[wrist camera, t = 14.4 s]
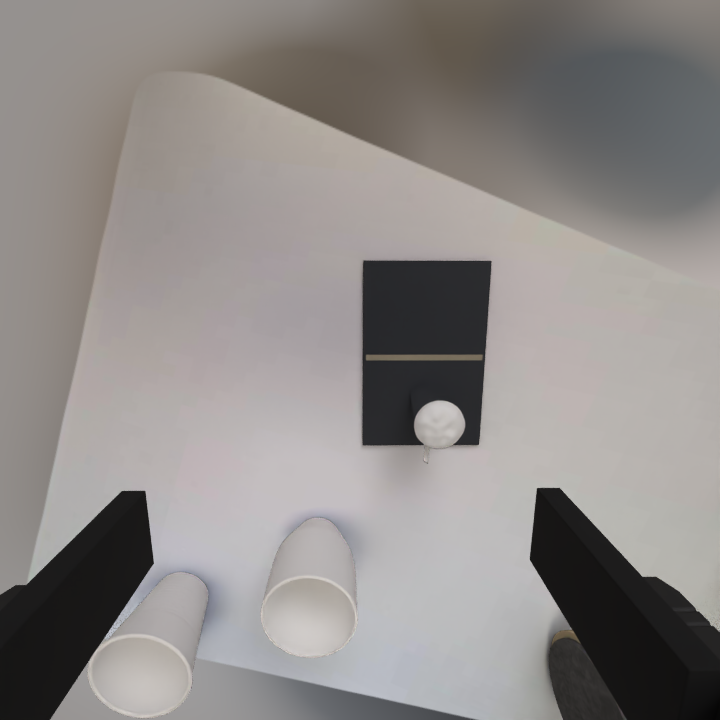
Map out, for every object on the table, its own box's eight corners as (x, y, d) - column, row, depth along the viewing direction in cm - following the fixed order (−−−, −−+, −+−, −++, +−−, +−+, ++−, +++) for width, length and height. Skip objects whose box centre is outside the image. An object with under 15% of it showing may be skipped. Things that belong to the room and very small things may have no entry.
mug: (291, 494, 49) (272, 567, 37) (365, 512, 50) (369, 589, 38) (267, 579, 51) (243, 672, 40) (338, 595, 52) (334, 692, 40)
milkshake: (392, 412, 46) (403, 451, 37) (417, 370, 46) (434, 399, 36) (428, 430, 47) (447, 474, 37) (453, 389, 46) (480, 423, 36)
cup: (239, 578, 51) (209, 661, 40) (203, 638, 53) (165, 733, 42) (163, 542, 50) (111, 618, 39) (129, 605, 52) (70, 694, 41)
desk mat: (363, 260, 43) (363, 260, 43) (490, 261, 44) (491, 261, 43) (362, 444, 48) (362, 445, 47) (477, 443, 48) (479, 445, 47)
